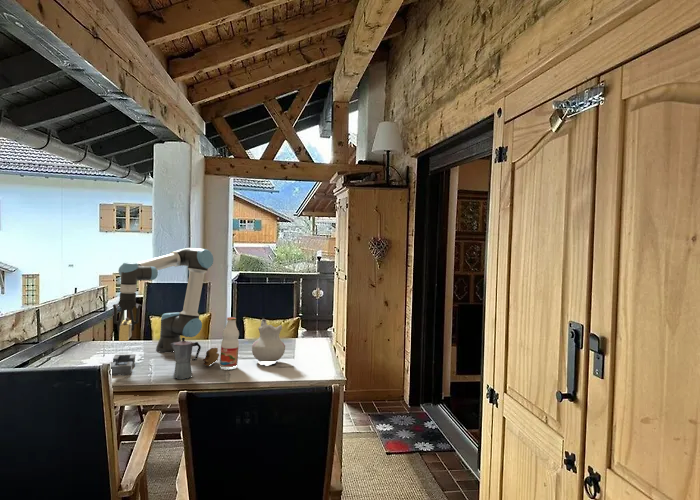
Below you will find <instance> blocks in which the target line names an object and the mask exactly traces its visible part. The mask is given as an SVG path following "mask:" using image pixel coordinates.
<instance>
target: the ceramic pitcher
mask: <svg viewBox="0 0 700 500" xmlns="http://www.w3.org/2000/svg"><path fill="white" fill-rule="evenodd" d="M282 330H283V326H282V325H281V324H280V325H278V326H276V327H275V326H274V325H272V324H268V322H267V319H265V318H262V319H261V323H260V326H259V327H258V331H259V337H258V338H257V339H256V340H255V341H253V343H252V346H251V352H252V355H253V357H254V358H255V359H256V360H257V361H259V360H260V361H279V360H280V359H281V358H282V357H283V356H284V354H285V351H286V345H285V343H284V342H283V341H282V340H281V338H280V334H281V331H282Z"/></svg>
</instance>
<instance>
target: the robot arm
mask: <svg viewBox="0 0 700 500" xmlns="http://www.w3.org/2000/svg"><path fill="white" fill-rule="evenodd" d="M213 264H214V255H213V253H212V251H210V250H209V249H207V248H199V247H198V248H196V247H186V248H185V247H184V248H181V249H177V250H173V251H170V253H169V254H166V255H161V256H158V257H153V258H150V259H147V260H141V261H137V262H123V263H122V264H121V265H120V266H119V268H118V274H119V276H120V287H119V289H120V290H119V291H120V293H119V300H118V302H117V303H114V304H112V308H113V324H116V328H117V329H116V331H118V332H119V334H118V336H119V335H120V325H121V323H122V321H123V320H122V319H123V316H124V314H125V311H129V316H130V317H129V318H130V320H131V323H132V324H130V334H129V337H130V338H132V332H134V330H135V325H136V324H138V323H139V321H140V309H141V307H142V304H140V303H137V301H136V300H137V286H138V284H137V283H138V281H155V280H156V279H157V278H158V275H159V273H158V271H160V270H165V269H166V268H167V269H168V268H170V267H175V268H176V267H180V266H182V267H183V266H184V267H187V270H188V271H189V276H188V280H187V286H186V291H185V297H184V302H183V309H182V311H180V312H179V311H177V312H175V311H174V312H166V313H163V314H162V315H161V319H160V334H159V335H160V336H159V339H158V342H157V343H156V348H155V351H156V352H158V351H160V352H159V353H165V352H171V353H174V352H173V351H174V350H173V348H172V346H171V345H170V344H172V343H174V342H180V341H182V337H184V338H193V337H196V336H197V335H198V334H199V333H200V332H201V330H202V329H203V328H202V326H203V323H202V320H201V319H200V313H198V311H199V305H200V300H201V295H202V288H203V285H204V278H205V274H206V273H208V271H209V269H210V268H212V266H213ZM119 307H120V309H121V311H120V314H119V317H118V308H119ZM134 307H136V316H135V317H134V311H133V309H134ZM181 336H182V337H181Z"/></svg>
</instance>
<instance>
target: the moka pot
mask: <svg viewBox="0 0 700 500" xmlns="http://www.w3.org/2000/svg"><path fill="white" fill-rule="evenodd" d="M170 345H171V346H172V348H173V350H174V352H173V353H174V358H175V359H174V360H175V364H174V365H175V366H174V373H173V379H175V378H177V379H176V380H185V379H184V378H187V379H190V378H192V377H193V372H192V363H191V361H193V362H195V361H197V360H198V357H199V354H200V352H201V348H202V346H201V345H200V344H199V343H198V341H195V342H193V341H187V340H186V337H181V341H180V342H174V343H172V344H170ZM193 347H197V350H196V354H195V357H194V358H192V355H193V354H192V353H193ZM191 358H192V359H191ZM191 376H192V377H191ZM189 377H190V378H189Z"/></svg>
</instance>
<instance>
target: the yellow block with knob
mask: <svg viewBox="0 0 700 500" xmlns="http://www.w3.org/2000/svg"><path fill="white" fill-rule="evenodd" d="M120 324H121V325H120V335H119V334H118V341H119V342H128V341H129V340H130V338H131V337H129V334H130V324H132V323H131V319H130V317H125V319H123V320H122V321H121V323H120Z"/></svg>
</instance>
